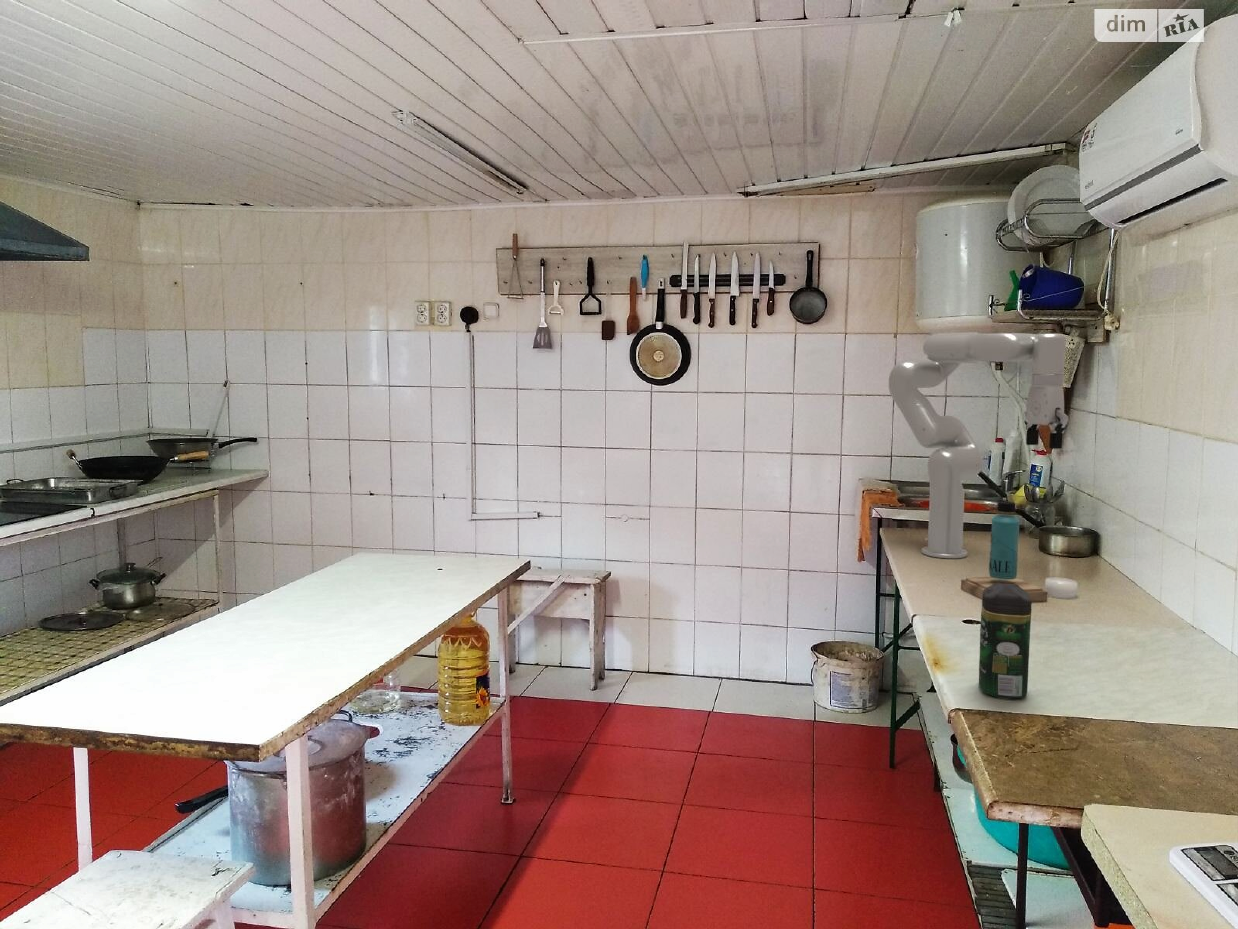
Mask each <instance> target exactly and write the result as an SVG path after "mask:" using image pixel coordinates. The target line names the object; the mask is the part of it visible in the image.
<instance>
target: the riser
mask: <svg viewBox="0 0 1238 929" xmlns="http://www.w3.org/2000/svg"><path fill="white" fill-rule="evenodd" d="M994 583H1002V584H1014V585H1018V586H1019V587H1020V588H1022V589H1024V590H1025V591H1026V592H1028V594H1029V595H1030V597H1031V600H1032V603H1036V602H1035V601H1040V602H1039V603H1042V602H1041V601H1047V602H1048V596H1047V594H1048V592H1047V591H1045V589H1043V587H1042V588H1041V587H1039V586H1037V585H1035V584H1032V583H1030V582H1027V581H1026V580H1022V579H1020V578H1017V577H1016V578H1015V579H1010V580H1006V579H997V578H993V577H991V576H981V577H979V576H978V577H966V578H965V579H961V583H960V590H961V591H964V592H967V594H968V593H969V594H971V595H973V596H975V597H977V598H979V599H981V600H982V597H983V591H984V589H985V588H987V587H989V586H991V585H993V584H994Z"/></svg>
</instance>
